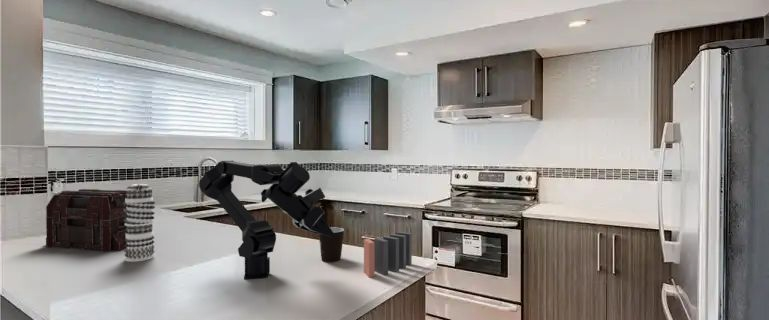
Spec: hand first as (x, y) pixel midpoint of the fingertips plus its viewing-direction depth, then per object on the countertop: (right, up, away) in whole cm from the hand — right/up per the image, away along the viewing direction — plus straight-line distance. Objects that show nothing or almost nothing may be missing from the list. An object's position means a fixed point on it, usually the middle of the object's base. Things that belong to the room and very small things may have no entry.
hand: (329, 235), depth 111 cm
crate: (-96, -11, +39) cm, 104 cm away
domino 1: (+11, -12, +3) cm, 17 cm away
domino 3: (+18, -12, +7) cm, 23 cm away
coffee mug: (-2, -12, +20) cm, 23 cm away
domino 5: (+22, -12, +14) cm, 29 cm away
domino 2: (+15, -12, +4) cm, 20 cm away
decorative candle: (-67, -12, +19) cm, 71 cm away
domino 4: (+20, -12, +10) cm, 26 cm away
